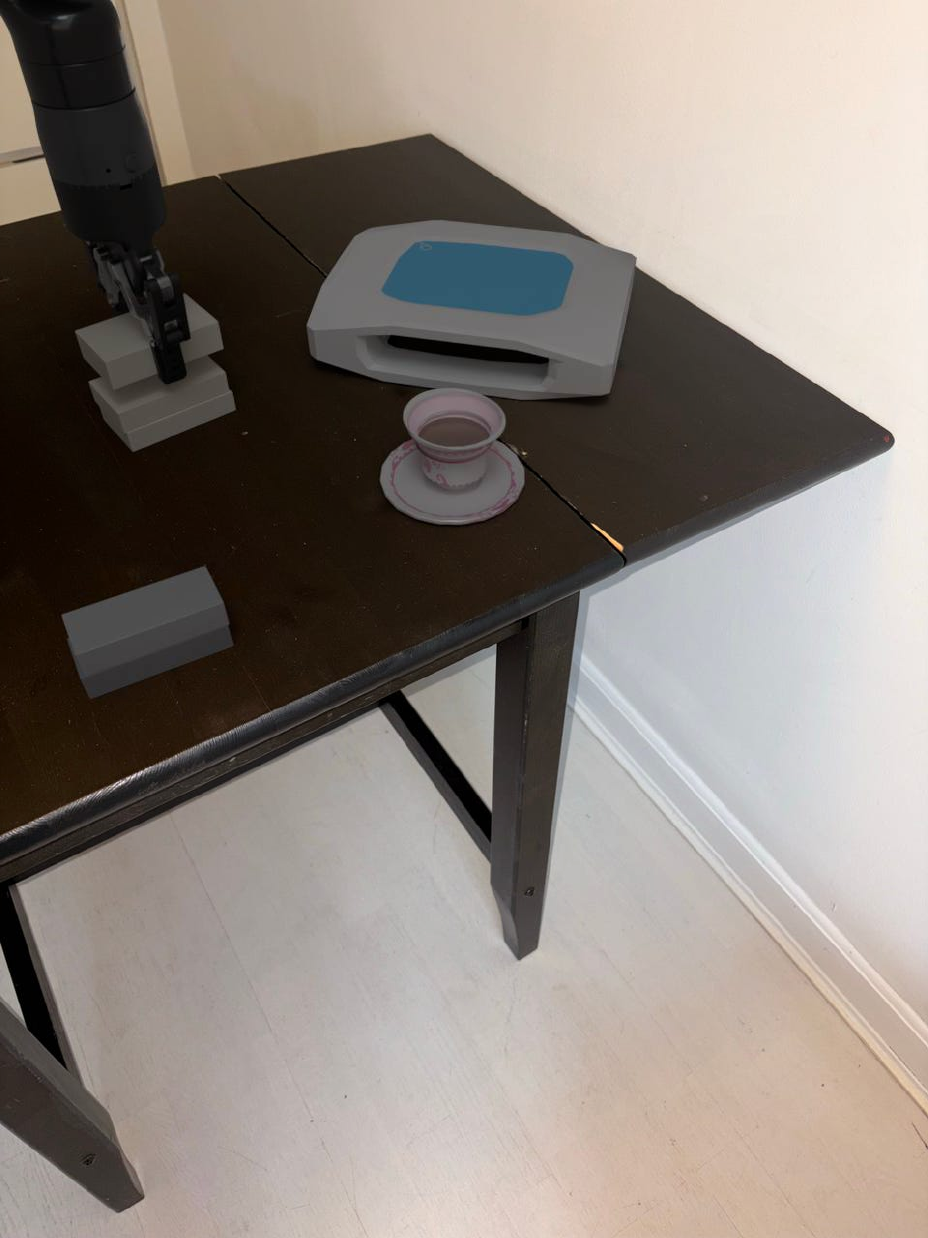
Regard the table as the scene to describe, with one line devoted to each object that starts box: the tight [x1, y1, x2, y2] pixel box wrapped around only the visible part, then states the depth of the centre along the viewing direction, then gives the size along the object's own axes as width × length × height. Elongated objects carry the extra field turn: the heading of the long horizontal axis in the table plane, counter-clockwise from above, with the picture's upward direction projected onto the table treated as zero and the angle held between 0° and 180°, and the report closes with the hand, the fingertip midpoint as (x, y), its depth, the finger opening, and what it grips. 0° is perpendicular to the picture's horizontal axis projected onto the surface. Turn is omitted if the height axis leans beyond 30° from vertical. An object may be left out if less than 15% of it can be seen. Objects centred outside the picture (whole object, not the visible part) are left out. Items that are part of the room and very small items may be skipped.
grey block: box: [88, 355, 237, 453], centre depth 84 cm, size 10×6×4 cm, turn 128°
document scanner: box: [306, 219, 638, 401], centre depth 92 cm, size 21×28×6 cm
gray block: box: [61, 565, 235, 700], centre depth 64 cm, size 10×4×4 cm, turn 118°
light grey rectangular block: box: [74, 292, 224, 390], centre depth 80 cm, size 10×6×3 cm, turn 128°
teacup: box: [379, 388, 525, 526], centre depth 77 cm, size 12×12×6 cm
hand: (156, 361), depth 81 cm, fingers closed on light grey rectangular block, 6 cm apart
